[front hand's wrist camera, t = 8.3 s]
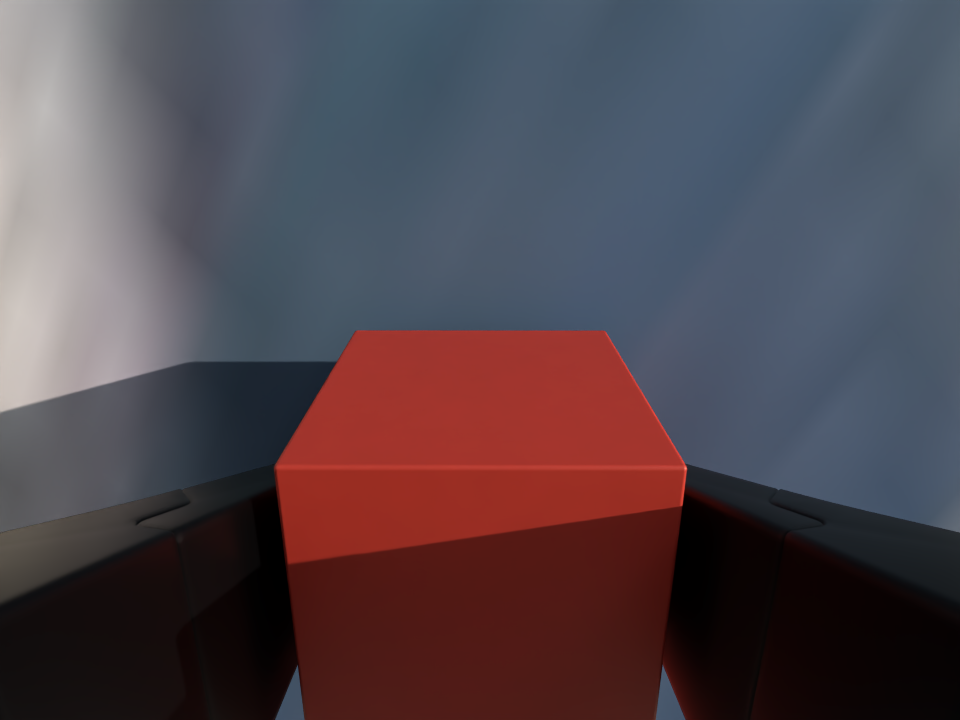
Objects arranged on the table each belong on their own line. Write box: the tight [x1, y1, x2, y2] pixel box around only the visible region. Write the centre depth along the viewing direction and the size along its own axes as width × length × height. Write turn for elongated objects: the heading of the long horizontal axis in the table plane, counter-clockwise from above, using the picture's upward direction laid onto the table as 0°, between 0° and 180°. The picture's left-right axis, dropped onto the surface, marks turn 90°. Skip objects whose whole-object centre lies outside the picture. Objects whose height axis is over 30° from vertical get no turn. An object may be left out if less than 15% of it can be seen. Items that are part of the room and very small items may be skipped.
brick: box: [274, 331, 687, 720], centre depth 10 cm, size 4×5×5 cm
